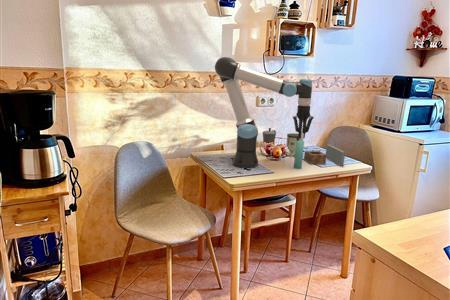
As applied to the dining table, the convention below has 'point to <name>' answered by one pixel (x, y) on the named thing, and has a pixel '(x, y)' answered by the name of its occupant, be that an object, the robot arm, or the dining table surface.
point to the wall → (335, 155)
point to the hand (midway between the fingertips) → (301, 143)
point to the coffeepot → (269, 136)
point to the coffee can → (292, 143)
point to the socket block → (315, 157)
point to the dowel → (298, 154)
